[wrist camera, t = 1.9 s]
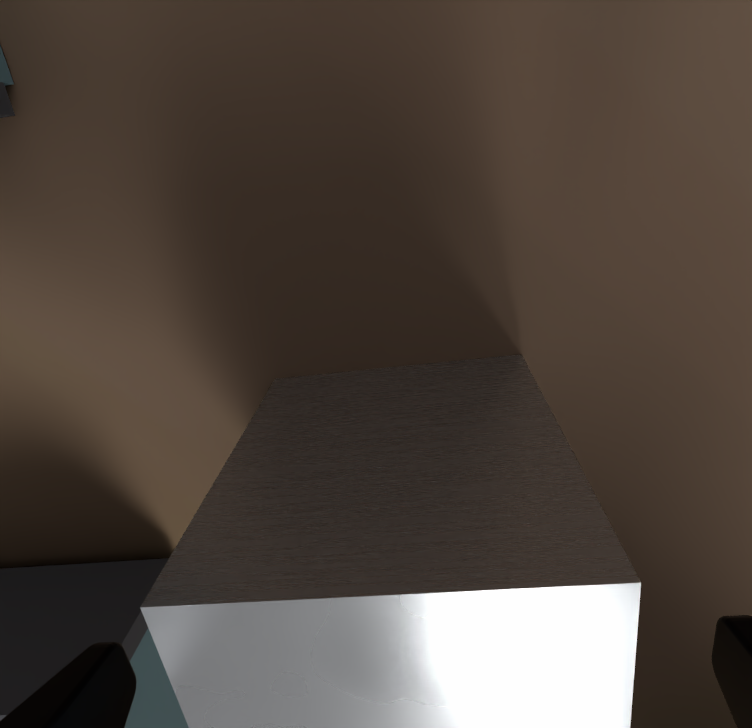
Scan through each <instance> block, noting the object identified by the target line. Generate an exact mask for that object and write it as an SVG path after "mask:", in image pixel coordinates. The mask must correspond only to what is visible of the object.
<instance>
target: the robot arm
mask: <svg viewBox="0 0 752 728" xmlns="http://www.w3.org/2000/svg"><path fill="white" fill-rule="evenodd" d="M712 664H713V669H714V672H715V675H716V678H717V680H718V683H719V685H720V687H721V690H722V692H723V695H724V697H725V699H726V702H727V704H728V707H729V709H730V711H731V714H732V716H733V719H734V721H735V723H736V726H737V728H752V616H748V615H739V616H723V617H721V618H719V620H718V621H717V625H716V631H715V638H714V645H713V651H712ZM136 683H137V681H136V675H135V673H134V670H133V668H132V666H131V664H130V661H129V659H128V657H127V654H126V652H125V650H124V648H123V646H122V645H121V644H120V643H118V642H101V643H95V644H93V645H91V646H89V647H88V648H87V649H85V650H84V651H83V652H82V653H81V654H79V655H78V656H77V657H76V658H75V659H73V660H72V661H71V662H70V663H69V664H67V665H66V666H65V667H64V668H63V669H61V670H60V671H59V672H58V673H57V674H55V675H54V676H53V677H52V678H51V679H49V680H48V681H47V682H46V683H45V684H44V685H42V686H41V687H40V688H39V689H38V690H36V691H35V692H34V693H33V694H32V695H30V696H29V697H28V698H27V699H26V700H24V701H23V702H22V703H21V704H20V705H18V706H17V707H16V708H15V709H14V710H12V711H11V712H10V713H9V714H8V715H6V716H5V717H4V718H3V719H2V720H0V728H125V725H126V722H127V718H128V715H129V712H130V709H131V706H132V702H133V699H134V696H135V692H136Z"/></svg>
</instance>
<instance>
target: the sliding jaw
mask: <svg viewBox="0 0 752 728" xmlns="http://www.w3.org/2000/svg"><path fill="white" fill-rule="evenodd" d="M168 559H169V558H166V559H150V560H134V561H118V562H102V563H86V564H70V565H53V566H37V567H21V568H5V569H0V720H2V719H3V718H4V717H5V716H6V715H8V714H9V713H10V712H11V711H12V710H14V709H15V708H16V707H17V706H18V705H20V704H21V703H22V702H23V701H24V700H26V699H27V698H28V697H29V696H30V695H32V694H33V693H34V692H35V691H36V690H38V689H39V688H40V687H41V686H42V685H44V684H45V683H46V682H47V681H48V680H49V679H51V678H52V677H53V676H54V675H55V674H57V673H58V672H59V671H60V670H61V669H63V668H64V667H65V666H66V665H67V664H69V663H70V662H71V661H72V660H73V659H75V658H76V657H77V656H78V655H79V654H81V653H82V652H83V651H84V650H85V649H87V648H88V647H89V646H91V645H93V644H95V643H101V642H118V643H120V644H121V645H122V646H123V648H124V650H125V652H126V654H127V657H128V659H129V661H130V664H131V666H132V668H133V670H134V673H135V675H136V681H137V683H136V692H135V696H134V699H133V702H132V706H131V709H130V712H129V715H128V718H127V722H126V725H125V728H189V727H188V724H187V722H186V719H185V717H184V714H183V712H182V709H181V707H180V704H179V702H178V700H177V697H176V695H175V692H174V690H173V687H172V685H171V682H170V680H169V677H168V675H167V673H166V670H165V668H164V665H163V663H162V660H161V658H160V655H159V653H158V650H157V648H156V646H155V643H154V641H153V638H152V636H151V633H150V631H149V628H148V626H147V623H146V621H145V619H144V616H143V614H142V611H141V609H140V607H141V605H142V603H143V602H144V600H145V598H146V597H147V595H148V593H149V591H150V590H151V588H152V586H153V585H154V583H155V581H156V580H157V578H158V576H159V575H160V573H161V571H162V569H163V568H164V566H165V564H166V563H167V561H168Z"/></svg>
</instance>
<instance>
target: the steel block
mask: <svg viewBox="0 0 752 728" xmlns="http://www.w3.org/2000/svg"><path fill="white" fill-rule="evenodd" d="M640 592H641V581H640V580H639V578H638V576H637V574H636V572H635V570H634V568H633V566H632V564H631V562H630V560H629V559H628V557H627V555H626V553H625V551H624V549H623V547H622V545H621V543H620V541H619V539H618V537H617V536H616V534H615V532H614V530H613V528H612V526H611V524H610V522H609V520H608V518H607V516H606V515H605V513H604V511H603V509H602V507H601V505H600V503H599V501H598V499H597V497H596V495H595V494H594V492H593V490H592V488H591V486H590V484H589V482H588V480H587V478H586V476H585V474H584V472H583V471H582V469H581V467H580V465H579V463H578V461H577V459H576V457H575V455H574V453H573V451H572V450H571V448H570V446H569V444H568V442H567V440H566V438H565V436H564V434H563V432H562V430H561V428H560V427H559V425H558V423H557V421H556V419H555V417H554V415H553V413H552V411H551V409H550V407H549V406H548V404H547V402H546V400H545V398H544V396H543V394H542V392H541V390H540V388H539V386H538V385H537V383H536V381H535V379H534V377H533V375H532V373H531V371H530V369H529V367H528V365H527V363H526V362H525V360H524V358H523V356H522V354H520V355H510V356H500V357H490V358H480V359H469V360H459V361H449V362H439V363H429V364H419V365H409V366H399V367H389V368H378V369H368V370H358V371H348V372H338V373H328V374H318V375H308V376H298V377H287V378H277V379H275V380H274V382H273V383H272V385H271V387H270V388H269V390H268V392H267V394H266V395H265V397H264V399H263V400H262V402H261V404H260V405H259V407H258V409H257V410H256V412H255V414H254V415H253V417H252V419H251V421H250V422H249V424H248V426H247V427H246V429H245V431H244V432H243V434H242V436H241V437H240V439H239V441H238V443H237V444H236V446H235V448H234V449H233V451H232V453H231V454H230V456H229V458H228V459H227V461H226V463H225V465H224V466H223V468H222V470H221V471H220V473H219V475H218V476H217V478H216V480H215V481H214V483H213V485H212V487H211V488H210V490H209V492H208V493H207V495H206V497H205V498H204V500H203V502H202V503H201V505H200V507H199V509H198V510H197V512H196V514H195V515H194V517H193V519H192V520H191V522H190V524H189V525H188V527H187V529H186V531H185V532H184V534H183V536H182V537H181V539H180V541H179V542H178V544H177V546H176V547H175V549H174V551H173V553H172V554H171V556H170V558H169V559H168V561H167V563H166V564H165V566H164V568H163V569H162V571H161V573H160V575H159V576H158V578H157V580H156V581H155V583H154V585H153V586H152V588H151V590H150V591H149V593H148V595H147V597H146V598H145V600H144V602H143V603H142V605H141V607H140V609H141V611H142V614H143V616H144V619H145V621H146V623H147V626H148V628H149V631H150V633H151V636H152V638H153V641H154V643H155V646H156V648H157V650H158V653H159V655H160V658H161V660H162V663H163V665H164V668H165V670H166V673H167V675H168V677H169V680H170V682H171V685H172V687H173V690H174V692H175V695H176V697H177V700H178V702H179V704H180V707H181V709H182V712H183V714H184V717H185V719H186V722H187V724H188V727H189V728H630V724H631V711H632V698H633V684H634V671H635V658H636V645H637V631H638V618H639V605H640Z"/></svg>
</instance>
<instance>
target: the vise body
mask: <svg viewBox="0 0 752 728" xmlns="http://www.w3.org/2000/svg"><path fill="white" fill-rule="evenodd" d="M12 84H14V83H13V80H12V77H11V74H10V72H9V69H8V66H7V63H6V60H5V57H4V54H3V52H2V49H1V46H0V118H3V117H9V116H15V114H14V111H13V108H12V105H11V102H10V100H9V97H8V94H7V91H6V88H5V86H6V85H12Z"/></svg>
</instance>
